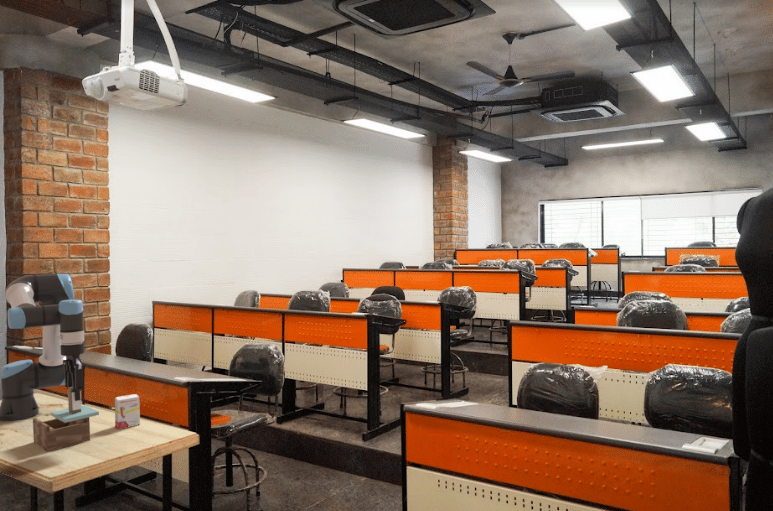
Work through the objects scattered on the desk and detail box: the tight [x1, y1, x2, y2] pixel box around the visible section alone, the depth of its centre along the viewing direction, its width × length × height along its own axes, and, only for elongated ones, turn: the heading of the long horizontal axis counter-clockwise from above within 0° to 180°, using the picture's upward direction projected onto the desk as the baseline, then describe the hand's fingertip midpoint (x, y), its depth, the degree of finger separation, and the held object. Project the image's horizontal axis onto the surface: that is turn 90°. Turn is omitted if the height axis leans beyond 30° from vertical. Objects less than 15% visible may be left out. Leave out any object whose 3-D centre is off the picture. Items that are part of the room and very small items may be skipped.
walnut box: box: [32, 417, 91, 452], centre depth 214 cm, size 15×14×9 cm
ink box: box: [114, 393, 141, 430], centre depth 231 cm, size 9×5×12 cm, turn 127°
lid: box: [51, 386, 100, 423], centre depth 204 cm, size 13×11×10 cm
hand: (74, 408), depth 204 cm, fingers closed on lid, 3 cm apart
